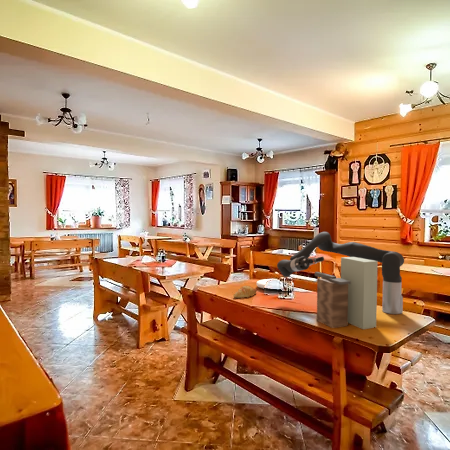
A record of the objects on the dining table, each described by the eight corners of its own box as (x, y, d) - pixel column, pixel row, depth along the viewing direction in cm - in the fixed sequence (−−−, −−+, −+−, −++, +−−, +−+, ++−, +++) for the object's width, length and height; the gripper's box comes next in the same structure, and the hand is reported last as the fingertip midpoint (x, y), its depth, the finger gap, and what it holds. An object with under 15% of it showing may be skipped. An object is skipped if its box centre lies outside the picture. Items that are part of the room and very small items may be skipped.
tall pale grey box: (340, 319, 171) (341, 257, 170) (352, 317, 174) (353, 256, 173) (363, 329, 156) (364, 262, 155) (376, 327, 159) (377, 261, 158)
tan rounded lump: (237, 305, 209) (241, 295, 206) (227, 295, 215) (231, 285, 212) (259, 298, 223) (263, 288, 220) (249, 289, 230) (253, 279, 227)
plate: (258, 277, 256) (293, 278, 251) (258, 285, 256) (293, 287, 250) (254, 280, 229) (294, 282, 223) (254, 290, 228) (293, 292, 223)
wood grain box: (316, 320, 169) (317, 278, 168) (331, 318, 172) (331, 277, 172) (332, 328, 158) (333, 283, 157) (347, 325, 161) (348, 282, 160)
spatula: (311, 275, 175) (311, 272, 175) (321, 275, 177) (321, 271, 177) (340, 284, 155) (340, 280, 155) (350, 283, 157) (350, 279, 157)
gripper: (311, 268, 193) (329, 264, 179) (291, 272, 187) (307, 268, 173) (308, 256, 195) (325, 250, 180) (288, 259, 189) (304, 254, 174)
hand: (317, 259), depth 176 cm, fingers open, 8 cm apart
